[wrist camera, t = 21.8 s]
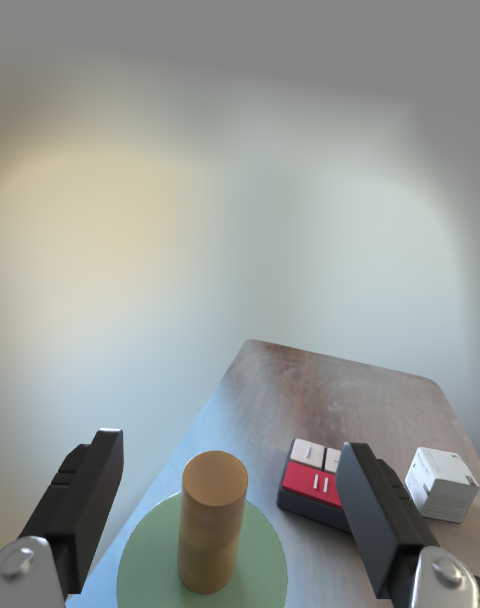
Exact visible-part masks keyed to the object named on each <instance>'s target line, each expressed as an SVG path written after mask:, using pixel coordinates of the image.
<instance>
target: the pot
mask: <svg viewBox="0 0 480 608" xmlns="http://www.w3.org/2000/svg"><path fill="white" fill-rule="evenodd" d="M180 508H181V492H180V493H177V494H175V495H173V496H170V497H168V498H167V499H165V500H163V501H162V502H160V503H159V504H158V505H156V506H155V507H154V508H152V509H151V510H150V511H149V512H148V513H147V514H146V515H145V516H144V517H143V519H142V520H141V521H140V522H139V523H138V525H137V526H136V528H135V529H134V531H133V532H132V534H131V536H130V538H129V540H128V541H127V543H126V546H125V548H124V551H123V554H122V557H121V561H120V564H119V569H118V576H117V604H118V608H284V606H285V600H286V594H287V580H288V578H287V565H286V560H285V555H284V551H283V548H282V545H281V542H280V540H279V538H278V535H277V533H276V532H275V530H274V528H273V526H272V525H271V523H270V522H269V521H268V519H267V518H266V517H265V515H264V514H263V513H262V512H261V511H260V510H259V509H258V508H257V507H255V506H254V505H253V504H252V503H250V502H249V501H248V500H246V499H245V505H244V512H243V518H242V525H241V531H240V538H239V544H238V551H237V557H236V564H235V569H234V573H233V575H232V577H231V579H230V581H229V582H228V583H227V585H226V586H224V587H223V588H222V589H221V590H219V591H217V592H215V593H212V594H199V593H196V592H194V591H192V590H190V589H189V588H188V587H187V586H186V585H185V584H184V583H183V582H182V580H181V578H180V576H179V573H178V568H177V556H178V540H179V524H180Z"/></svg>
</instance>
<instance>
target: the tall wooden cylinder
mask: <svg viewBox="0 0 480 608" xmlns="http://www.w3.org/2000/svg"><path fill="white" fill-rule="evenodd" d="M247 486H248V474H247V471H246V468H245V467H244V465H243V464H242V462H241V461H240V460H239V459H238V458H236V457H235V456H233V455H231V454H229V453H226V452H223V451H206V452H203V453H200V454H198V455H196V456H195V457H193V458H192V459H191V460H190V461H189V462H188V463H187V465H186V466H185V469H184V471H183V476H182V491H181V508H180V524H179V540H178V556H177V568H178V573H179V576H180V578H181V580H182V582H183V583H184V584H185V585H186V586H187V587H188V588H189V589H190V590H192V591H194V592H196V593H199V594H212V593H215V592H217V591H219V590H221V589H222V588H223V587H224V586H226V585H227V583H228V582H229V581H230V579H231V577H232V575H233V573H234V569H235V564H236V557H237V551H238V544H239V538H240V531H241V525H242V518H243V512H244V505H245V499H246V492H247Z"/></svg>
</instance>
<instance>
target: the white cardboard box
mask: <svg viewBox="0 0 480 608" xmlns="http://www.w3.org/2000/svg"><path fill="white" fill-rule="evenodd" d="M405 482H406V485H407V487H408V489H409V491H410V493H411V496H412V498H413V501H414V503H415V506H416V508H417V509H418V511H419V512H420V514H421V516H424V517H429V518H434V519H440V520H445V521H451V522H456V523H462V522H463V520H464V518H465V516H466V514H467V512H468V510H469V508H470V506H471V504H472V502H473V500H474V498H475V496H476V494H477V492H478V491H479V489H480V486H479V485H478V483H477V482H476V480H475V478H474V477H473V475H472V474H471V472H470V470H469V468H468V467H467V466H466V465H465V463H464V462H463V460H462V459H461V458H460V456H459V455H458V454H457V453H450V452H444V451H439V450H434V449H429V448H423V447H418V449H417V452H416V454H415V457H414V459H413V462H412V464H411V467H410V469H409V472H408V474H407V477H406V479H405Z"/></svg>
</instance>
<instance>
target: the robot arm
mask: <svg viewBox="0 0 480 608" xmlns="http://www.w3.org/2000/svg"><path fill="white" fill-rule="evenodd" d="M123 459H124V457H123V431H122V430H118V429H99V430H98V431H97V433H96V435H95V437H94V439H93V441H92V443H91V444H80V445H79V446H77V447H76V448H75V449H74V450H73V451H72V452H71V453H69V454H68V455H67V456H66V458H65V460H64V461H63V463H62V465H61V466H60V468H59V470H58V473H56V475H55V476H54V478H53V480H52V482H51V485H49V487H48V488H47V490H46V492H45V493H44V495H43V497H42V499H41V500H40V502H39V504H38V505H37V507H36V509H35V510H34V512H33V514H32V515H31V517H30V519H29V521H28V522H27V524H26V525H25V527H24V529H23V531H22V532H21V534H20V535H19V537H18V538H17V539H16V540H15V541H13V542H11V543H9V544H7V545H6V546H5V547H3V548H2V549H1V550H0V608H66V606H65V601H66V598H67V596H68V594H81V591H82V588H83V586H84V583H85V580H86V577H87V574H88V571H89V569H90V566H91V563H92V560H93V557H94V555H95V552H96V549H97V546H98V543H99V541H100V537H101V535H102V532H103V529H104V527H105V523H106V521H107V518H108V515H109V512H110V510H111V506H112V504H113V501H114V498H115V496H116V493H117V490H118V487H119V484H120V481H121V477H122V472H123V464H124V460H123ZM335 485H336V490H337V493H338V496H339V499H340V502H341V504H342V507H343V510H344V512H345V515H346V518H347V520H348V523H349V526H350V528H351V531H352V534H353V536H354V539H355V542H356V544H357V547H358V550H359V552H360V555H361V558H362V560H363V563H364V566H365V568H366V571H367V574H368V577H369V579H370V582H371V585H372V587H373V590H374V593H375V595H376V598H377V599H391V601H392V603H393V606H394V608H480V577H477V576H475V575H473V574H472V572H471V571H470V570H469V569H468V567H467V566H466V565H465V564H464V563H463V562H462V561H461V560H460V559H459V558H458V557H456V556H455V555H454V554H452V553H450V552H449V551H447V550H445V549H443V548H441V547H440V545H439V544H438V542H437V541H436V539H435V537H434V536H433V534H432V532H431V531H430V529H429V527H428V526H427V524H426V522H425V521H424V519H423V517H422V516H421V514H420V512H419V511H418V509H417V508H416V506H415V504H414V503H413V501H412V500H410V496H409V494H408V493H407V491H406V489H405V488H403V484H402V483H401V481H400V479H399V478H398V476H397V474H396V473H395V471H394V470H393V469H392V468H391V467H389V466H388V465H387V464H386V463H385V462H384V461H383V460H382V459H376V457H375V456H374V454H373V452H372V450H371V449H370V447H369V445H368V444H366V443H353V442H345V443H344V445H343V448H342V451H341V455H340V459H339V462H338V466H337V470H336V474H335Z"/></svg>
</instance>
